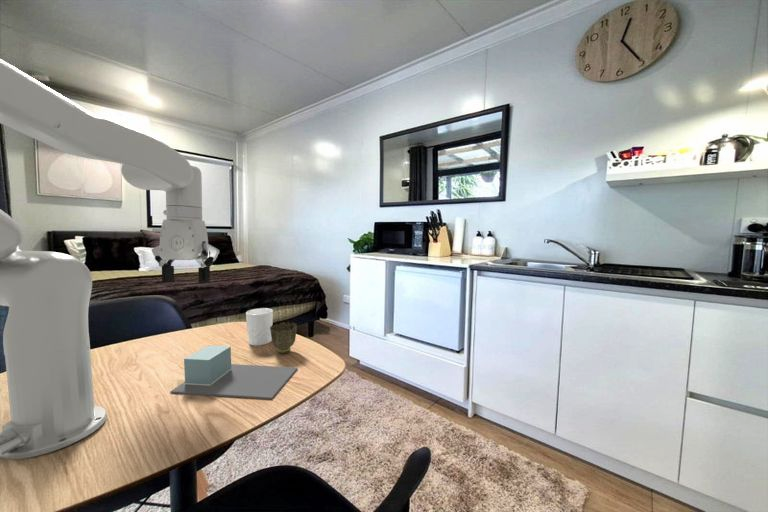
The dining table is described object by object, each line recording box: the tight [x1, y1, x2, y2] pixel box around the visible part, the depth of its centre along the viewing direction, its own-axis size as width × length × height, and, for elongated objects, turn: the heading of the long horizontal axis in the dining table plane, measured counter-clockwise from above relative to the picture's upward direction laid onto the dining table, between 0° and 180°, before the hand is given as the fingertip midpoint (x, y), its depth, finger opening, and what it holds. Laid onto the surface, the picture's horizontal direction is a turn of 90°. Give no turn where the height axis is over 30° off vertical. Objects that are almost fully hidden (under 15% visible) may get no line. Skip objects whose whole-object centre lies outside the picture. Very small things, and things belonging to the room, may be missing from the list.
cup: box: [270, 321, 298, 355], centre depth 87 cm, size 8×7×8 cm
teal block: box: [183, 345, 232, 386], centre depth 71 cm, size 8×6×6 cm
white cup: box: [245, 307, 274, 347], centre depth 95 cm, size 8×8×10 cm
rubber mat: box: [170, 363, 298, 400], centre depth 70 cm, size 14×23×1 cm, turn 85°
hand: (186, 282), depth 76 cm, fingers open, 9 cm apart
